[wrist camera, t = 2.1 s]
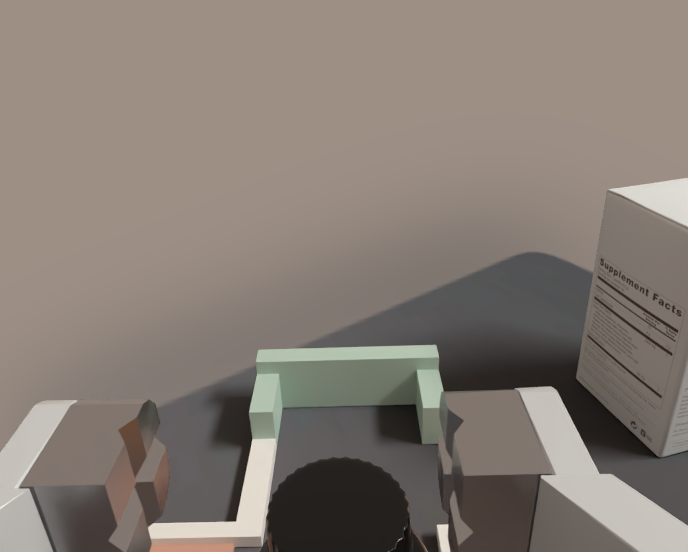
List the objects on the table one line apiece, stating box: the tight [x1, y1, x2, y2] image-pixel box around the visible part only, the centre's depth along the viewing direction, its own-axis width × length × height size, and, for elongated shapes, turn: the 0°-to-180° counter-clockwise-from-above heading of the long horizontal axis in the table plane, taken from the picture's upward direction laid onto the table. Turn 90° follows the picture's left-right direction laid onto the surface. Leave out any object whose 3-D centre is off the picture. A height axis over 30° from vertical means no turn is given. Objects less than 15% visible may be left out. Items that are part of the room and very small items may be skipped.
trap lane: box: [148, 345, 450, 552], centre depth 31 cm, size 26×26×4 cm
